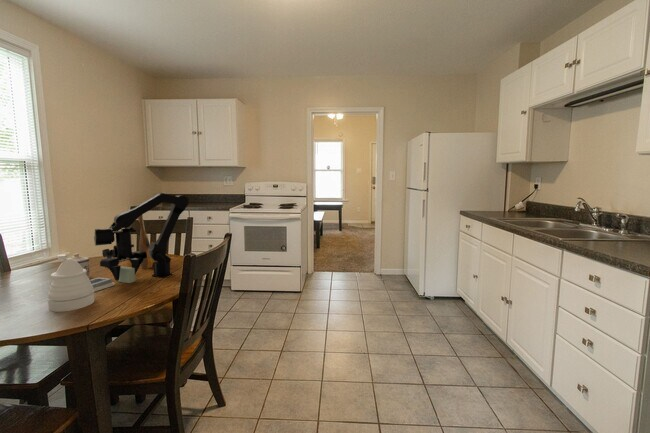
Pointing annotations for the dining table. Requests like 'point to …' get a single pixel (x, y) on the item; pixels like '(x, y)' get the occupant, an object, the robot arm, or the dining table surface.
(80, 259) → the teacup with lid
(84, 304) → the honey pot
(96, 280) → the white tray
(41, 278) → the dining table surface
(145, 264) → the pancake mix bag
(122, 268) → the pale green block
